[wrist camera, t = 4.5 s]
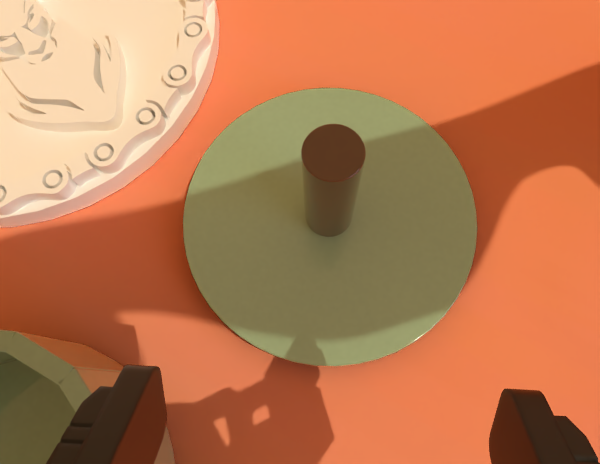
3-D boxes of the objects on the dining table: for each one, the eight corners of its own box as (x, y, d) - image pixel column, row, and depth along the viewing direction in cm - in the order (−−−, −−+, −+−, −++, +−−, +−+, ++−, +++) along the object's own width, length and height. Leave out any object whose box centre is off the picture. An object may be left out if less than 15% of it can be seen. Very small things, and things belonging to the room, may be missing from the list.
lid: (274, 60, 29) (259, -58, 22) (514, 167, 27) (594, 77, 19) (133, 278, 26) (54, 230, 18) (396, 426, 23) (436, 445, 15)
